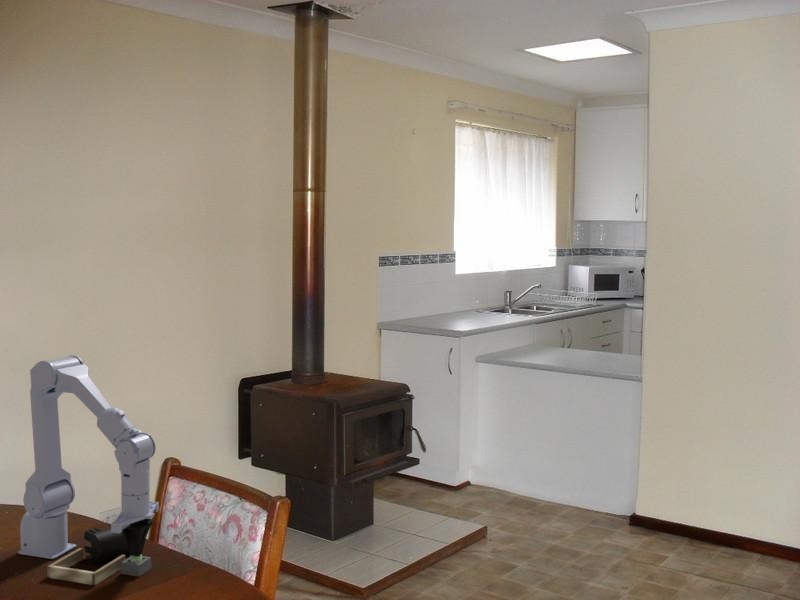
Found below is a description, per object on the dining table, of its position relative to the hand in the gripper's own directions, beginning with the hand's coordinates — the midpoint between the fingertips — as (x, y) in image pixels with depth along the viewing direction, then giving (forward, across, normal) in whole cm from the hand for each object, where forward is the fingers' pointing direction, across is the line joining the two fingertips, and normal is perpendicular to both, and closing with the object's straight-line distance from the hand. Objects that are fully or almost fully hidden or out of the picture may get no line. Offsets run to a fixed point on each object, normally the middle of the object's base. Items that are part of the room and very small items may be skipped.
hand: (136, 554), depth 181 cm
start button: (+3, 0, 0) cm, 3 cm away
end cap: (+4, +5, +10) cm, 11 cm away
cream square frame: (+4, -4, +9) cm, 11 cm away
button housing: (+4, 0, 0) cm, 4 cm away
